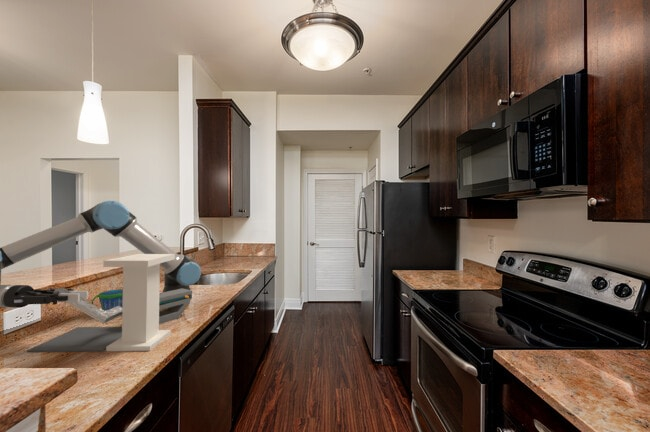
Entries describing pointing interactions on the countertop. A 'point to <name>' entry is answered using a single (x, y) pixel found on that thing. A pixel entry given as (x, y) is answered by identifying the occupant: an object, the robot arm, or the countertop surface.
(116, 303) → the snack cup
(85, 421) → the countertop surface
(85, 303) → the bracket
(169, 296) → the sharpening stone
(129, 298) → the stand
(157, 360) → the countertop surface
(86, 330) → the mat
